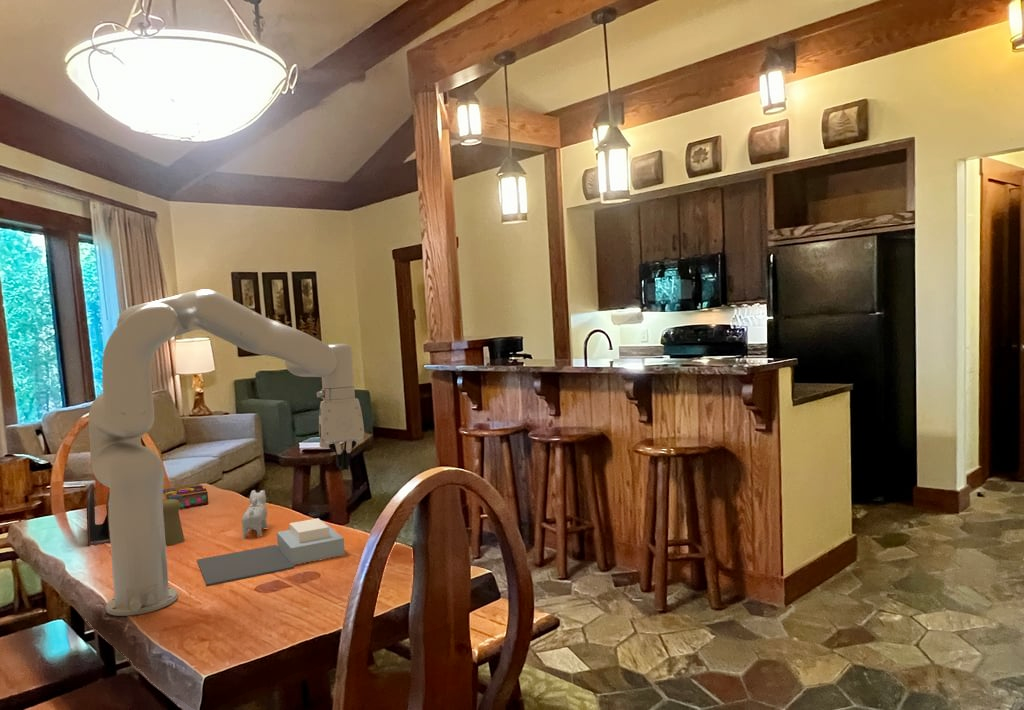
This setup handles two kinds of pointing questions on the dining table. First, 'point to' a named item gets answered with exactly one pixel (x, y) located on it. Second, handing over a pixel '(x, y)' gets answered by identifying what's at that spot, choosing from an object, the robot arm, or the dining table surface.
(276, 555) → the mat
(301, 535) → the cream rounded box
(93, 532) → the letter holder
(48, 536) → the dining table surface
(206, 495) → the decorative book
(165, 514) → the olive green upright block
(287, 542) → the block
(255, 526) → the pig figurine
